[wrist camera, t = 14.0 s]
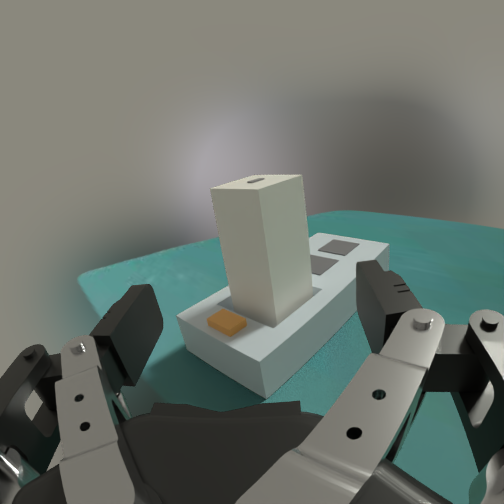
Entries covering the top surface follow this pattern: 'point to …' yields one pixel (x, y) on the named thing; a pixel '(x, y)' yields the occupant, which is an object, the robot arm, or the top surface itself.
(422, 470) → the top surface
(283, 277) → the block
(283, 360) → the power strip
